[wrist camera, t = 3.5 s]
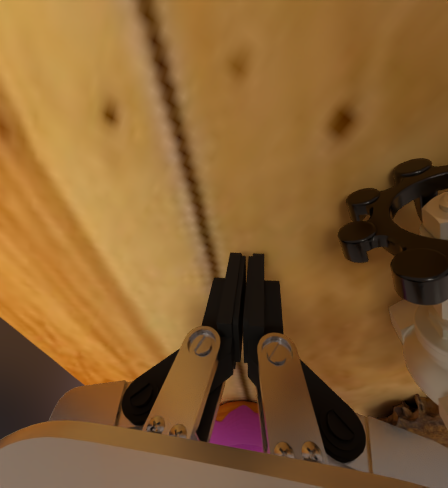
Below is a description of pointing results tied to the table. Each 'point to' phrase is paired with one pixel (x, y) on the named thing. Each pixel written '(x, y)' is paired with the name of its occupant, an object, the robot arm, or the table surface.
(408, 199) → the valve
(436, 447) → the robot arm
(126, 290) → the table surface
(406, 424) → the decorative rock
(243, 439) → the donut
